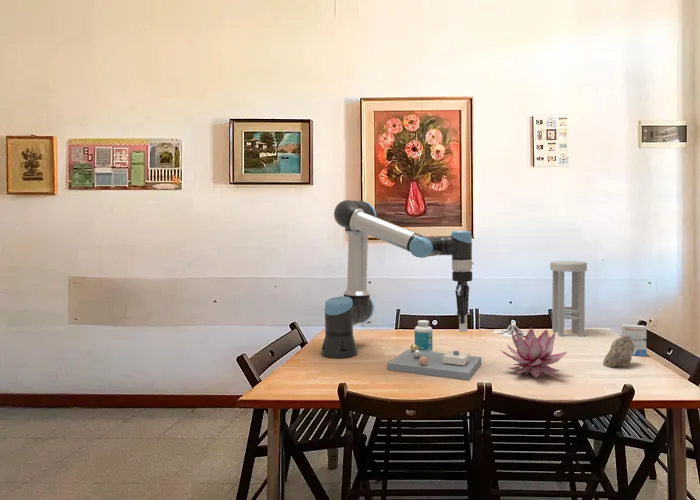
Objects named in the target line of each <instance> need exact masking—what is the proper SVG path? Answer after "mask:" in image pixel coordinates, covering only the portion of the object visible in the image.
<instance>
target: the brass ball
mask: <svg viewBox="0 0 700 500" xmlns="http://www.w3.org/2000/svg"><path fill="white" fill-rule="evenodd" d="M409 350H411V351H412V352H414V351H415V350H418V346H417V345H416V344H415V343H412V344H411V345H410V346H409Z"/></svg>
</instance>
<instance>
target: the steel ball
mask: <svg viewBox="0 0 700 500" xmlns="http://www.w3.org/2000/svg"><path fill="white" fill-rule="evenodd" d="M421 355H422V354H421V351H420V350H415V351H414V352H413V356H414V357H415V358H420V357H421Z"/></svg>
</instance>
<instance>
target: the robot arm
mask: <svg viewBox="0 0 700 500" xmlns="http://www.w3.org/2000/svg"><path fill="white" fill-rule="evenodd" d="M333 215H334V216H333V217H334V220H335V222H336V223H337V224H338V225H339V226H340V227H342V228H344V232H345V233H346V234H347V236H348V237H347V238H348V240H347V241H348V245H347V278H346V280H347V286H346V290H345V291H344V292H343V295H342V296H333V297H331V298H329V299H327V300H326V301H325V302H324V303H325V305H324V319H325V320H324V329H325V333H324V334H325V335H324V336H325V337H324V340H323V342H322V346H321V355H322V356H323V357H324V358H331V359H344V358H352V357H354V356H356V355H358V347H357V343H356V341H355V337H354V325H358V324H362V323H365V322H366V321H368V320H369V319H370V318H371V317H372V315H373V313H374V311H375V310H374V309H375V305H374V302H373V300H372V299H371V298H370V296H371V294H370V293H371V292H370V291H368V289H367V280H368V251H369V250H368V248H369V247H368V246H369V245H368V243H369V241H368V239H369V238H368V237H369V236H371V237H373V238H376V239H378V240H381V241H383V242H385V243H388V244H390V245H393V246H395V247H397V248H400V249H403V250H405V251H408V252H410V253H411V255H412V256H414V257H416V258H420V259H423V258H427V257H433V256H434V257H435V256H436V257H437V256H451V270H452V272H451V273H452V282H457V283H456V284H457V285H456V286H455V288H456V289H455V296H456V297H455V298H456V309H457V312H456V316H458V321H459V322H458V324H459V325H458V327H459V328H458V329H459V332H463V333H467V332H468V315H470V312H469V301H470V300H469V298H470V297H469V296H470V295H469V294H470V287H469V285H468V282H472V281H473V272H472V270H473V265H474V262H473V261H472V260H473V258H472V257H473V255H472V254H473V246H472V245H473V241H472V239H473V238H472V232H471V231H470V230H452V231H451V235H447V236H445V235H444V236H442V235H440V236H436V235H434V236H433V235H429V236H424V235H422V234H419V233H416V232H414V231H411V230H409V229H406V228H404V227H401V226H399V225H397V224H394V223H392V222H390V221H387V220H384V219H382V218H379V217H377V211H376V209H375V207H374V206H373V205H372V204H371V203H369V202H367V201H363V200H352V199H351V200H349V199H345V200H342V201H340V202H339V203H337V204H336V205H335V209H334V211H333Z"/></svg>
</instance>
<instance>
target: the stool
mask: <svg viewBox="0 0 700 500" xmlns="http://www.w3.org/2000/svg"><path fill="white" fill-rule="evenodd" d="M549 266H550V269H549V270H550V271H552V312H551V313H552V315H551V316H552V318H551V320H552V322H551V325H552V327H551V328H552V332H553V333H557V336H559V337H565V320H571V333H577V336H578V337H582V338H583V337H585V326H586V325H585V322H586V321H585V318H586V317H585V316H586V315H585V313H586V312H585V311H586V310H585V308H586V306H585V303H586V301H585V300H586V299H585V298H586V296H585V295H586V287H585V286H586V282H585V281H586V274H585V273H586V271H587V270H588V267H587V266H588V263H587V262H586V261H577V260H557V261H556V260H555V261H550V265H549ZM565 272H568V273H569V272H570V273H571V306H565Z"/></svg>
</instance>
